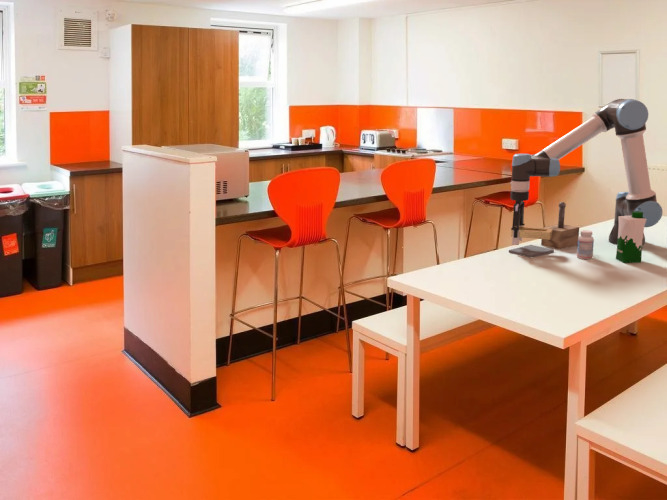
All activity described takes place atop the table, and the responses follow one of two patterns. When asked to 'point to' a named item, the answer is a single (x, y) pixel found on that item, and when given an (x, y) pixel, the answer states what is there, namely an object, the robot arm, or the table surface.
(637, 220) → the milk carton
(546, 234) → the golden brown rectangular frame
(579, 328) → the table surface
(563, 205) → the walnut stand
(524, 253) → the rubber mat
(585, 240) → the pill bottle
